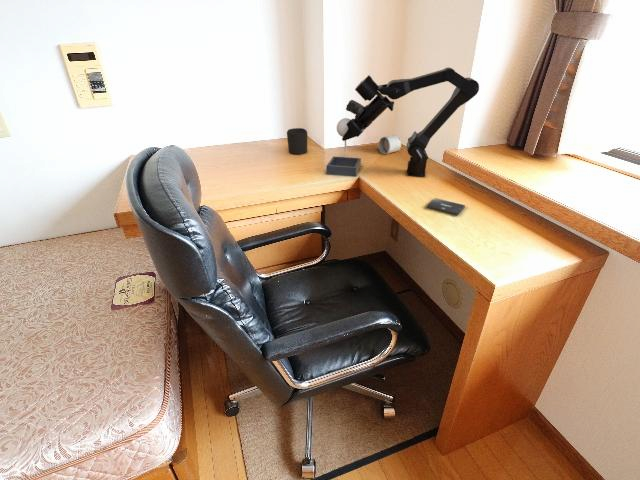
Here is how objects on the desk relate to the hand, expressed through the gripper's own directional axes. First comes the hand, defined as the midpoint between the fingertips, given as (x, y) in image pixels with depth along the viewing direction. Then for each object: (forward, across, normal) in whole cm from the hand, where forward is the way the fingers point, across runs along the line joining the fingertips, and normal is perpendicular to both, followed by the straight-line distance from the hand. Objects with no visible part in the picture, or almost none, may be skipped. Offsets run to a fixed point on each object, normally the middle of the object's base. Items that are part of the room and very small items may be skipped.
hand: (345, 137), depth 139 cm
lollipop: (+5, 0, +6) cm, 8 cm away
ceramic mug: (+1, -28, +18) cm, 33 cm away
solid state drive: (-20, +24, +39) cm, 50 cm away
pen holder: (+29, -15, -10) cm, 34 cm away
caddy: (+9, +1, +9) cm, 13 cm away
